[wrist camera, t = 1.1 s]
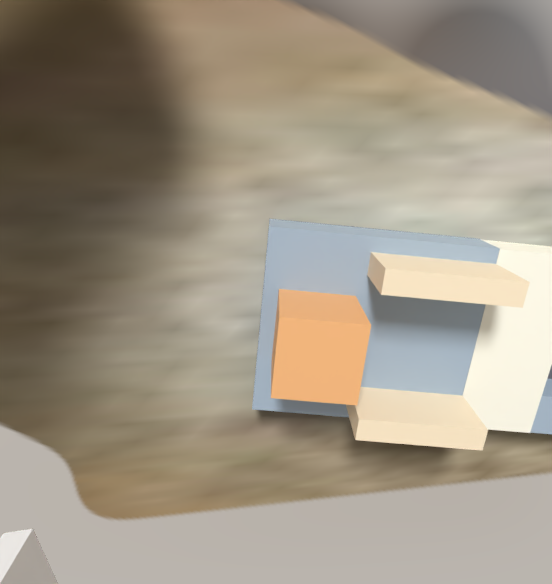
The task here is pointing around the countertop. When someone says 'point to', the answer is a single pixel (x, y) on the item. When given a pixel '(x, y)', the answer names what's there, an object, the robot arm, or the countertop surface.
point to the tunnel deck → (396, 325)
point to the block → (318, 347)
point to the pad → (514, 345)
